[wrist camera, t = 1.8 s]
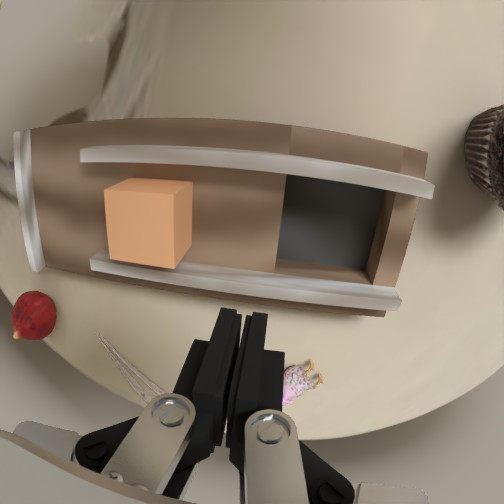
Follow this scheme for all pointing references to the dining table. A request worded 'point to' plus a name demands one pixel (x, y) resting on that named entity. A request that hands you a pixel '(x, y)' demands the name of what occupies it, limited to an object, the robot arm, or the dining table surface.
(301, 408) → the dining table surface
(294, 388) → the pink plastic figure
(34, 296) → the onion
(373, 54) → the dining table surface
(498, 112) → the cupcake
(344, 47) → the dining table surface
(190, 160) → the trap tube
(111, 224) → the block
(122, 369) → the tweezers
